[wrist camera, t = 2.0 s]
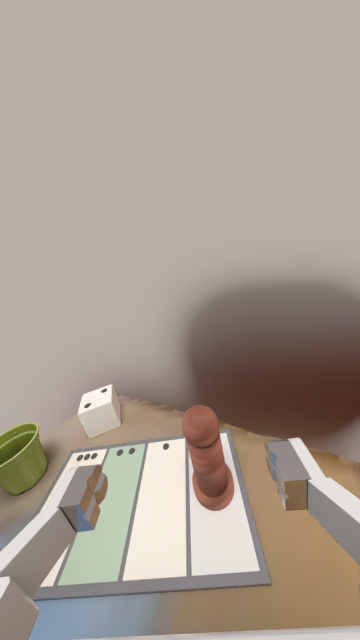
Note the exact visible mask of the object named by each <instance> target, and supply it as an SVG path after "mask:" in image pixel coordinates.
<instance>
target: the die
mask: <svg viewBox="0 0 360 640" xmlns="http://www.w3.org/2000/svg"><path fill="white" fill-rule="evenodd" d="M77 415H78V417H79V419H80V421H81V423H82V425H83V427H84V429H85V431H86V433H87V436H88V438H89V439H90V438H93V437H95V436H98V435H100V434H102V433H105V432H107V431H109V430H112V429H114V428H117V427H119V426H121V413H120V404H119V401H118V398H117V396H116V393H115V391H114V388H113V385H112V384H111V385H108V386H105V387H102V388H100V389H97V390H94V391H91V392H89V393H86V394H83V397H82V400H81V403H80V407H79V411H78V414H77Z"/></svg>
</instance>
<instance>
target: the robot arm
mask: <svg viewBox="0 0 360 640" xmlns="http://www.w3.org/2000/svg"><path fill="white" fill-rule="evenodd" d="M265 448H266V451H267V453H266V460H267V464H268V468H269V471H270V474H271V476H272V479H273V480H274V481H275V482H276V483H277V490H278V494H279V496H280V498H281V501H282V503H283V506H284V508H285V511H292V510H307V509H308V512H309V513H310V514H311V515H312V516H313V517H314V518H315V519H316V520H317V521H318V522H319V523H320V524H321V526H322V527H323V528H324V529H325V530H326V531H327V532H328V533H329V534H330V535H331V536H332V537H333V538H334V539H335V540H336V541H337V542H338V543H339V544H340V545H341V547H342V548H343V549H344V550H345V551H346V552H347V553H348V554H349V555H350V556H351V557H352V558H353V559H354V560H355V561H356V562H357V563H358V564H359V565H360V499H358V498H357V497H356V496H354V495H353V494H352V493H350V492H349V491H348V490H346V489H345V488H343V487H342V486H341V485H339V484H338V483H337V482H335V481H334V480H333V479H331V478H326V477H325V475H324V474H323V472H322V471H321V469H320V468H319V466H318V465H317V463H316V462H315V460H314V459H313V457H312V455H311V454H310V452H309V451H308V449H307V448H306V446H305V445H304V443H303V442H302V440H301V439H300V438H292V439H282V440H276V441H269V442H265ZM102 469H103V468H102V466H101V464H96V465H88V466H78V467H70V468H69V469H68V470H67V472H66V473H65V475H64V477H63V479H62V480H61V482H60V484H59V486H58V488H57V490H56V491H55V493H54V495H53V497H52V499H51V500H50V502H49V504H48V506H47V508H46V509H44V510H42V511H41V512H40V513H39V514H38V515H37V516H36V517H35V518H34V519H33V520H32V521H31V522H30V523H29V524H28V525H27V526H26V527H25V528H24V529H23V530H22V531H21V532H20V533H19V534H18V535H17V536H16V537H15V538H14V539H13V540H12V541H11V542H10V543H9V544H8V545H7V546H6V547H5V548H4V549H3V550H2V551H1V552H0V640H28V639H29V636H30V634H31V631H32V629H33V626H34V624H35V621H36V619H37V616H38V614H39V606H38V605H37V604H36V603H35V602H34V601H33V600H32V599H31V598H32V597H33V595H34V594H35V593H36V591H37V590H38V588H39V587H40V585H41V584H42V583H43V581H44V580H45V578H46V577H47V575H48V574H49V573H50V571H51V570H52V568H53V567H54V565H55V564H56V563H57V561H58V560H59V558H60V557H61V555H62V554H63V553H64V551H65V550H66V548H67V547H68V545H69V544H70V542H71V541H72V540H73V538H74V537H75V535H76V533H77V532H84V531H91V530H95V527H96V524H97V521H98V517H99V514H100V511H101V509H100V504H101V502H102V501H103V500H104V499H105V496H106V493H107V488H108V479H107V476H106V474H104V473H103V472H102ZM359 593H360V586H359ZM72 640H360V625H355V626H334V627H314V628H294V629H274V630H254V631H233V632H213V633H193V634H173V635H152V636H132V637H112V638H92V639H72Z"/></svg>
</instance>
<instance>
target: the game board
mask: <svg viewBox="0 0 360 640" xmlns="http://www.w3.org/2000/svg"><path fill="white" fill-rule="evenodd" d="M219 431H220V437H221V442H222V448H223V454H224V459H225V463H226V464H227V466H228V467H229V469H230V470H231V473H232V476H233V482H234V495H233V498H232V500H231V502H230V504H229V505H228V506H227V507H226V508H224V509H222V510H219V511H211V510H208V509H206V508H205V507H203V506H202V505H201V504H200V503H199V501H198V500H197V497H196V495H195V492H194V488H193V484H192V476H193V472H194V469H193V465H192V461H191V458H190V454H189V450H188V446H187V442H186V438H185V436H184V435H181V436H173V437H166V438H159V439H151V440H144V441H137V442H129V443H122V444H115V445H107V446H100V447H93V448H85V449H78V450H72V451H71V453H70V455H69V456H68V458H67V460H66V461H65V463H64V465H63V467H62V468H61V470H60V472H59V474H58V475H57V477H56V479H55V480H54V482H53V484H52V486H51V487H50V489H49V491H48V493H47V494H46V496H45V498H44V499H43V501H42V503H41V505H40V506H39V508H38V510H37V512H36V513H35V515H34V517H33V518H32V520H33V519H34V518H35V517H36V516H37V515H38V514H39V513H40V512H41V511H42V510H44V509H46V508H47V506H48V504H49V502H50V500H51V499H52V497H53V495H54V493H55V491H56V490H57V488H58V486H59V484H60V482H61V480H62V479H63V477H64V475H65V473H66V472H67V470H68V469H69V468H70V467H78V466H88V465H96V464H101V466H102V468H103V469H102V472H103V473H104V474H106V476H107V479H108V488H107V493H106V496H105V499H104V500H103V501H102V502H101V504H100V509H101V511H100V514H99V517H98V521H97V524H96V527H95V530H91V531H84V532H77V533H76V535H75V537H74V538H73V540H72V541H71V542H70V544H69V545H68V547H67V548H66V550H65V551H64V553H63V554H62V555H61V557H60V558H59V560H58V561H57V563H56V564H55V565H54V567H53V568H52V570H51V571H50V573H49V574H48V575H47V577H46V578H45V580H44V581H43V583H42V584H41V585H40V587H39V588H38V590H37V591H36V593H35V594H34V595H33V597H32V598H31V599H32V600H33V601H40V600H55V599H70V598H85V597H100V596H115V595H130V594H145V593H160V592H176V591H191V590H206V589H221V588H236V587H251V586H266V585H271V582H270V578H269V574H268V571H267V567H266V563H265V559H264V556H263V552H262V548H261V544H260V541H259V537H258V533H257V529H256V526H255V522H254V518H253V515H252V511H251V507H250V503H249V500H248V496H247V492H246V488H245V485H244V481H243V477H242V474H241V470H240V466H239V462H238V459H237V455H236V451H235V447H234V444H233V440H232V436H231V433H230V429H225V430H219ZM32 520H31V521H32Z"/></svg>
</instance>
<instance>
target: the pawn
mask: <svg viewBox="0 0 360 640" xmlns="http://www.w3.org/2000/svg"><path fill="white" fill-rule="evenodd" d="M182 430H183V434H184V436H185V438H186V442H187V446H188V450H189V454H190V458H191V461H192V465H193V469H194V472H193V476H192V484H193V488H194V492H195V495H196V497H197V500H198V501H199V503H200V504H201V505H202V506H203V507H205V508H206V509H208V510H211V511H219V510H222V509H224V508H226V507H227V506H228V505H229V504H230V502H231V500H232V498H233V495H234V482H233V476H232V473H231V470H230V469H229V467H228V466H227V464H226V463H225V459H224V454H223V448H222V442H221V437H220V431H219V422H218V419H217V417H216V415H215V413H214V412H213V411H212V410H211V409H210V408H208V407H207V406H204V405H195V406H193V407H191V408H190V409H188V410H187V411H186V413H185V415H184V417H183V420H182Z"/></svg>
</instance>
